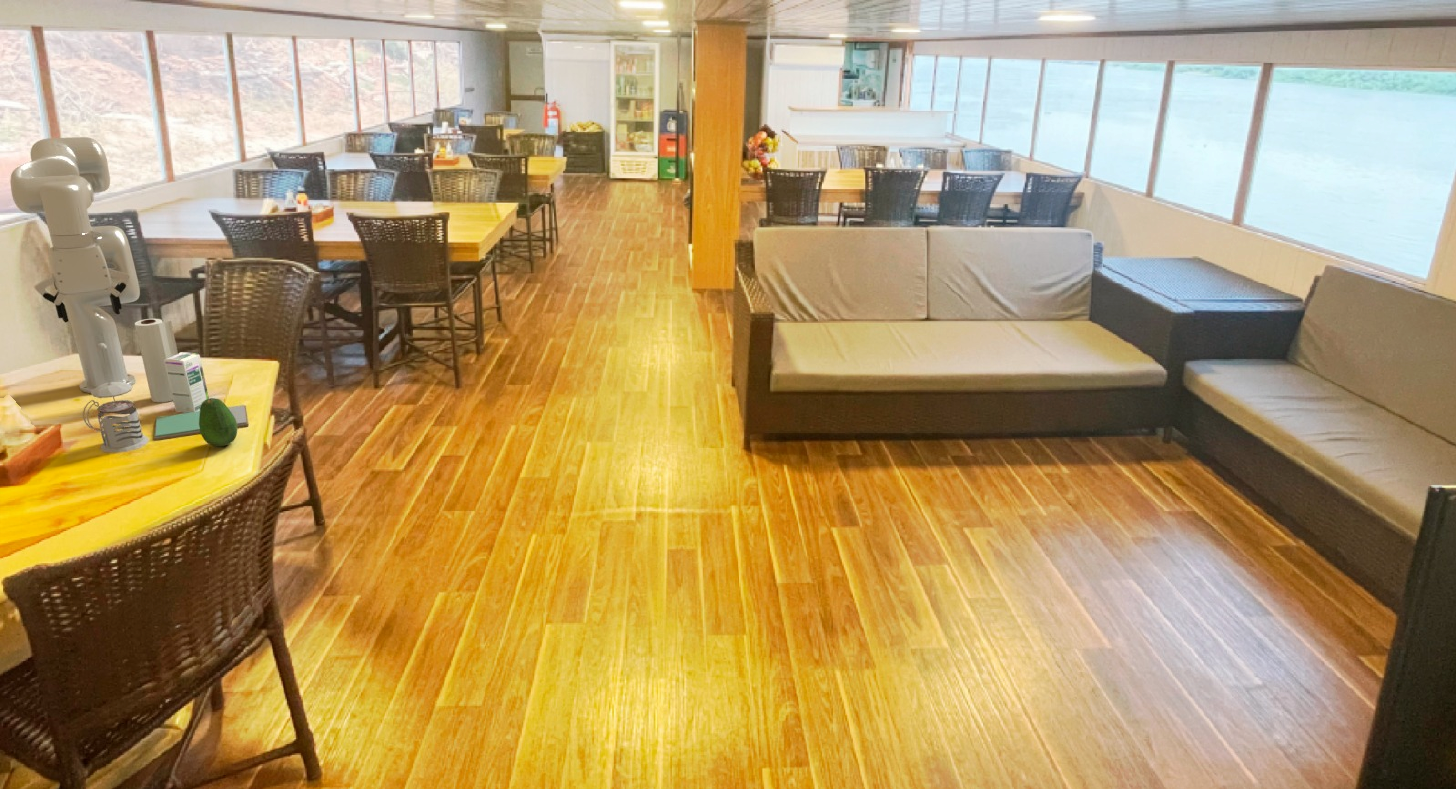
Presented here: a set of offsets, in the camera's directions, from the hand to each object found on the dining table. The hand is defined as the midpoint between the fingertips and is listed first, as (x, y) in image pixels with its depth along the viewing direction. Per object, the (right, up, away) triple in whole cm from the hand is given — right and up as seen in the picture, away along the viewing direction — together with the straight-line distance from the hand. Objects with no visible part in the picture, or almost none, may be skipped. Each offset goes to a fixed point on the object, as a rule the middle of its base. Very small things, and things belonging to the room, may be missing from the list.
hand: (91, 316), depth 201 cm
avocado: (+22, -30, +13) cm, 39 cm away
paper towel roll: (-6, -19, +37) cm, 42 cm away
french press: (-1, -29, +11) cm, 32 cm away
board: (+11, -25, +24) cm, 36 cm away
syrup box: (+4, -21, +32) cm, 39 cm away
